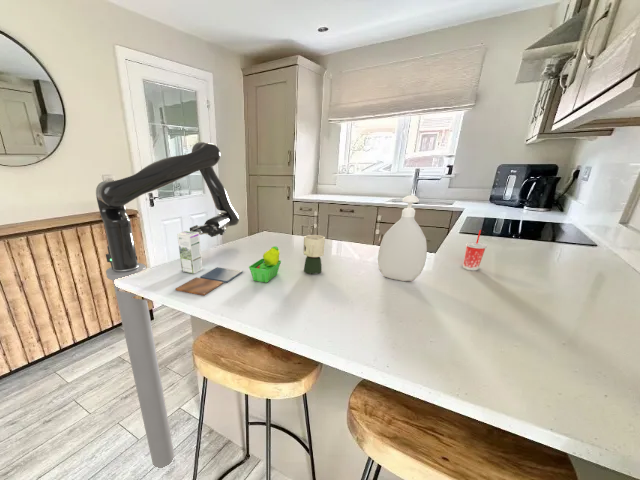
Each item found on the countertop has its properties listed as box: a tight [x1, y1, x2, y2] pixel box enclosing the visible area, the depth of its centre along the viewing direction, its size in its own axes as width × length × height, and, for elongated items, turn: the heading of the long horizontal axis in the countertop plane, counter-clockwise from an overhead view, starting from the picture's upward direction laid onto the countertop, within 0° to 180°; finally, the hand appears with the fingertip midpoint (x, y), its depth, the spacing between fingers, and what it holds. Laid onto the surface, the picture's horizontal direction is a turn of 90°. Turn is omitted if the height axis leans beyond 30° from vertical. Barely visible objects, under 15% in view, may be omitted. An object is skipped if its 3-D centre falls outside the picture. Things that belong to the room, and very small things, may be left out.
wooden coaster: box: [175, 276, 224, 296], centre depth 100 cm, size 11×11×1 cm
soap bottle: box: [377, 194, 428, 282], centre depth 99 cm, size 14×8×27 cm, turn 53°
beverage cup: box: [462, 229, 488, 271], centre depth 108 cm, size 6×6×14 cm
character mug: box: [303, 234, 326, 275], centre depth 108 cm, size 11×7×13 cm, turn 159°
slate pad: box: [199, 267, 243, 284], centre depth 110 cm, size 11×11×1 cm
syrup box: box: [176, 230, 203, 275], centre depth 113 cm, size 6×6×14 cm
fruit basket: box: [248, 246, 282, 283], centre depth 105 cm, size 11×9×11 cm
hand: (201, 234), depth 120 cm, fingers open, 8 cm apart
